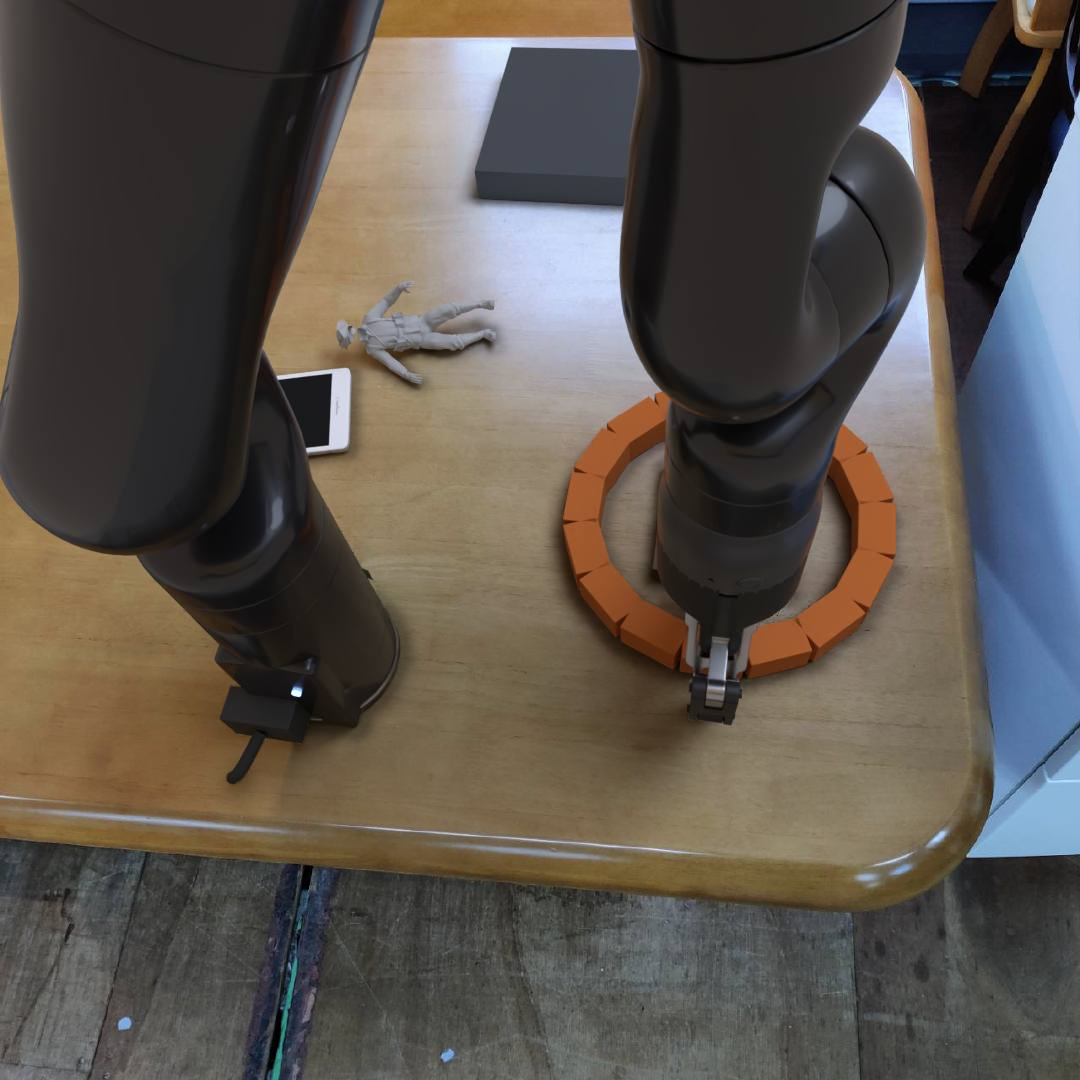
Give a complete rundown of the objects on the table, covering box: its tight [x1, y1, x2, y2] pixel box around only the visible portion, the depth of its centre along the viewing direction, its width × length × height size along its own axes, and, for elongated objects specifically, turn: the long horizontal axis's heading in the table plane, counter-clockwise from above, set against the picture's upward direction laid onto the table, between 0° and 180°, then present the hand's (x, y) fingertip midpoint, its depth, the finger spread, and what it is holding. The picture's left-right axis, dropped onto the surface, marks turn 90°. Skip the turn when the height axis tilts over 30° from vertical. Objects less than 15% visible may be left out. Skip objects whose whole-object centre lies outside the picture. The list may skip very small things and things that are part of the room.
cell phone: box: [276, 367, 353, 457], centre depth 74 cm, size 8×16×1 cm, turn 94°
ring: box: [562, 391, 897, 680], centre depth 65 cm, size 22×22×2 cm
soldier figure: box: [335, 280, 497, 385], centre depth 75 cm, size 8×5×12 cm
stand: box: [474, 46, 639, 206], centre depth 85 cm, size 17×17×3 cm
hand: (713, 651), depth 61 cm, fingers open, 6 cm apart
